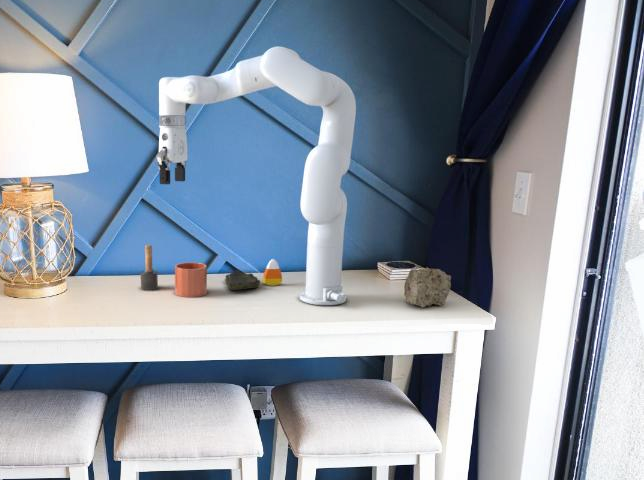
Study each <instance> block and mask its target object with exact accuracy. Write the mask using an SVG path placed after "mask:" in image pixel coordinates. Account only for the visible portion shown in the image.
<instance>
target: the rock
mask: <svg viewBox="0 0 644 480" xmlns="http://www.w3.org/2000/svg"><path fill="white" fill-rule="evenodd" d="M451 279H452V276H451V275H450V274H446V272H445V271H442V270H441V269H440V268H429V267H425V268H419V269H415V268H411V269H409V272H408V275H407V277H406V278H405V282H404V286H403V287H404V293H403V295H404V297H405V299H406V303H408V304H411V305H416V306H419V307H421V308H425V307H427V306H429V307H430V306H432V305H436V306H443V305H444V304H445V302H446V301H447V299H448V297H449V294H450V291H451V287H452V283H451Z"/></svg>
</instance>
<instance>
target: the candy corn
mask: <svg viewBox="0 0 644 480" xmlns="http://www.w3.org/2000/svg"><path fill="white" fill-rule="evenodd" d="M282 282H283V274H282V271H281V268H280V266H279V263H278V261H277V260H276V259H274V258H271V259H270V260H269V262H268V264H267V265H266V267H265V270H264V272H263V276H262V283H263V284H265V285H268V286H271V287H272V286H273V287H274V286H275V287H276V286H279V285H280V284H282Z"/></svg>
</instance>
